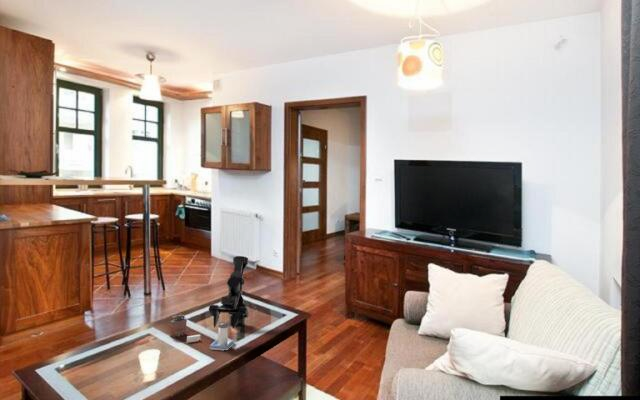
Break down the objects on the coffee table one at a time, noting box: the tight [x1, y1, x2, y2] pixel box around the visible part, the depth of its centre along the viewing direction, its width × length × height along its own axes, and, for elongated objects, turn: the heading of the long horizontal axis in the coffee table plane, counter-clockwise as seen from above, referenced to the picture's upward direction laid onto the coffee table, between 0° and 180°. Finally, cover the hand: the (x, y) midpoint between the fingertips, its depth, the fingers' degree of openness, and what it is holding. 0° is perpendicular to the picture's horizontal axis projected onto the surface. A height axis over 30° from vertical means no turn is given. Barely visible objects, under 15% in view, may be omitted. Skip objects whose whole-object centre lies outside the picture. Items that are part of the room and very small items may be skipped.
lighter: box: [169, 314, 188, 338], centre depth 177 cm, size 8×3×10 cm, turn 134°
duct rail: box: [186, 334, 202, 343], centre depth 169 cm, size 6×2×2 cm, turn 122°
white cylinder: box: [217, 321, 229, 346], centre depth 165 cm, size 4×4×10 cm
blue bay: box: [209, 337, 235, 351], centre depth 165 cm, size 9×8×2 cm
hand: (223, 327), depth 166 cm, fingers open, 9 cm apart
